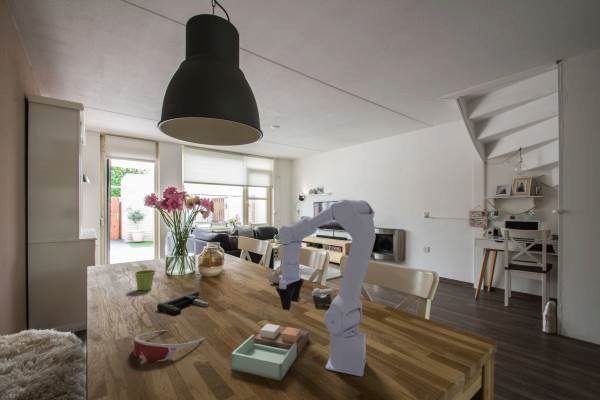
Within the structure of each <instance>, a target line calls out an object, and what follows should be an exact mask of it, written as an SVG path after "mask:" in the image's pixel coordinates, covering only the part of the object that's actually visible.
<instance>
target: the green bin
mask: <svg viewBox="0 0 600 400" xmlns="http://www.w3.org/2000/svg"><path fill="white" fill-rule="evenodd" d="M254 338H255V334H251V335H250V336H249V337H248V338H247V339H246V340H245V341H244V342H242V343H241V344H240V345H239V346H238V347H237V348H236V349H234V350H233V351H232V352H231V359H230V360H231V363H230V365H231V367H230V368H231V370H234V371H237V372H242V373H246V374H251V375H255V376H259V377H262V378H267V379H272V380H275V381H280V382H281V381H282V380H283V379H284V378H285V376H286V374H287V373H288V371H289V370H290V369H291V367H292V365H293V364H294V362H295V360H297V356H298V355H297V343H296V342H295V343H294V344H293V345H292V347H291V348H290V349H289V350H285V349H280V348H275V347H270V346H265V345H260V344H255V343H254Z"/></svg>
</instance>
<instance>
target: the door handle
mask: <svg viewBox="0 0 600 400" xmlns="http://www.w3.org/2000/svg"><path fill="white" fill-rule="evenodd" d="M199 296H200V291H198V290H195V291H192V292H189V293H185V294H183V295H180V296H177V297H174V298H171V299H168V300H166V301H162V302H160V303H158V304H157V306H156V310H158V311H162V312H165V313H167V314H170V315H173V316H177V315H179V314H181V312H182V308H186V307H188V306H191V305H196V306H199V307H204V308H207V307H209V306H210V302H207V301H204V300H201V299H198V298H199Z"/></svg>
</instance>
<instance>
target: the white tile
mask: <svg viewBox="0 0 600 400" xmlns="http://www.w3.org/2000/svg"><path fill="white" fill-rule="evenodd" d="M280 327H281V325H277V324H271V323H266V324H265V325H264V326H263V327H262V328H261V329H260V332H261V336H262V337H268V338H273V339H274V338H275V337H276V336H277V335H278V334H279V333H280Z"/></svg>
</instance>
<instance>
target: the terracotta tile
mask: <svg viewBox="0 0 600 400" xmlns="http://www.w3.org/2000/svg"><path fill="white" fill-rule="evenodd" d="M286 327H287V328H286V329H285V330H284V331H283V332H282V340H284V341H289V342H297V340H298V339H299V338H300V336H301V330H302V329H301V328H298V327H297V328H296V327H290V326H286Z"/></svg>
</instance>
